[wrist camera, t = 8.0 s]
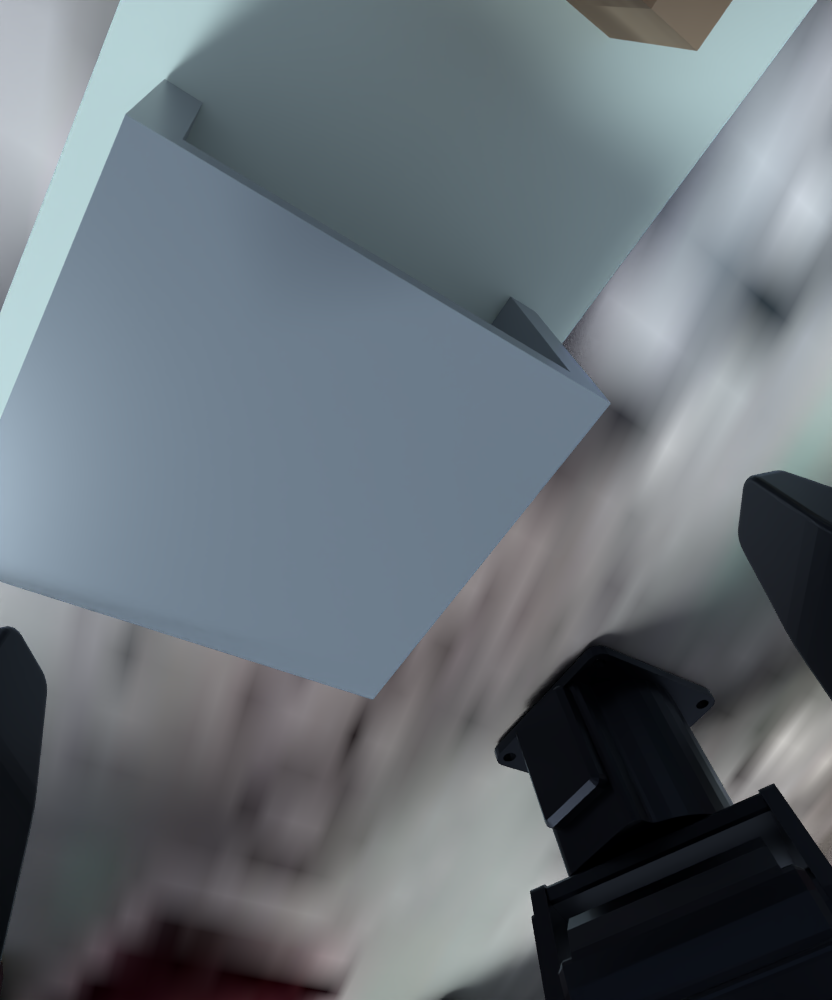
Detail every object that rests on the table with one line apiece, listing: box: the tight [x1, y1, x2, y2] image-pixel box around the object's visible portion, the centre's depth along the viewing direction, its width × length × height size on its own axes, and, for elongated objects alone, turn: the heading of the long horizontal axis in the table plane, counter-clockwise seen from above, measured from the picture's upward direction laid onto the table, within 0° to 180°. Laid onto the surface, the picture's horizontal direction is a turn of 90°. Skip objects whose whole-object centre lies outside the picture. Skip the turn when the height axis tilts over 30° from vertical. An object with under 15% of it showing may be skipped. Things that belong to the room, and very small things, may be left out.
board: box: [0, 0, 817, 418], centre depth 15 cm, size 12×22×4 cm, turn 147°
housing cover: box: [0, 79, 611, 700], centre depth 17 cm, size 10×9×5 cm
